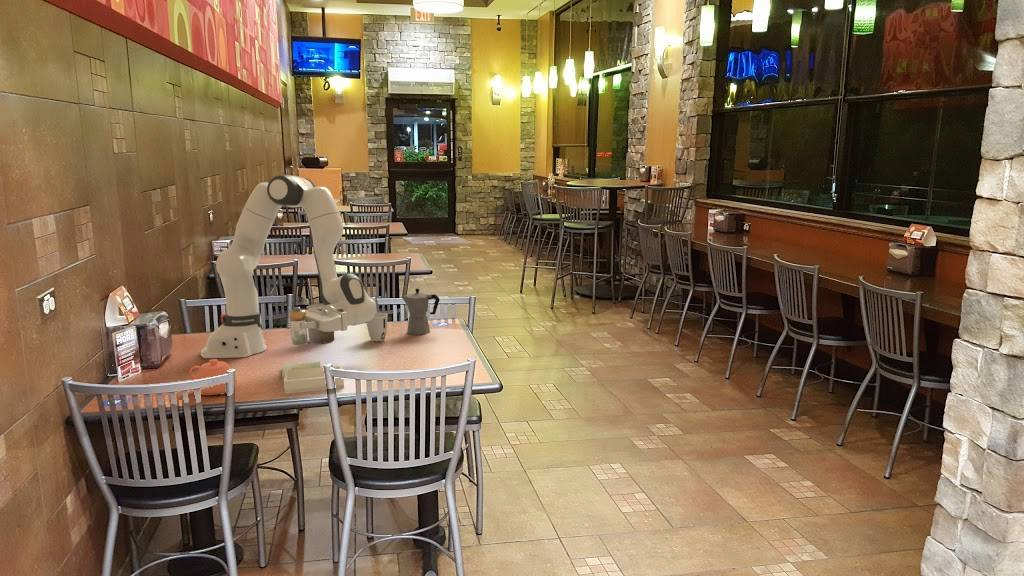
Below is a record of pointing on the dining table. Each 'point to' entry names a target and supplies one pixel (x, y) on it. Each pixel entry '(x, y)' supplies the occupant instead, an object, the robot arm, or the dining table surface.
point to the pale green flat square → (299, 366)
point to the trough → (308, 380)
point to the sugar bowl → (212, 370)
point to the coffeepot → (419, 311)
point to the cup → (377, 327)
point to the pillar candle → (316, 334)
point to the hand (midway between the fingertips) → (295, 324)
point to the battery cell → (298, 326)
